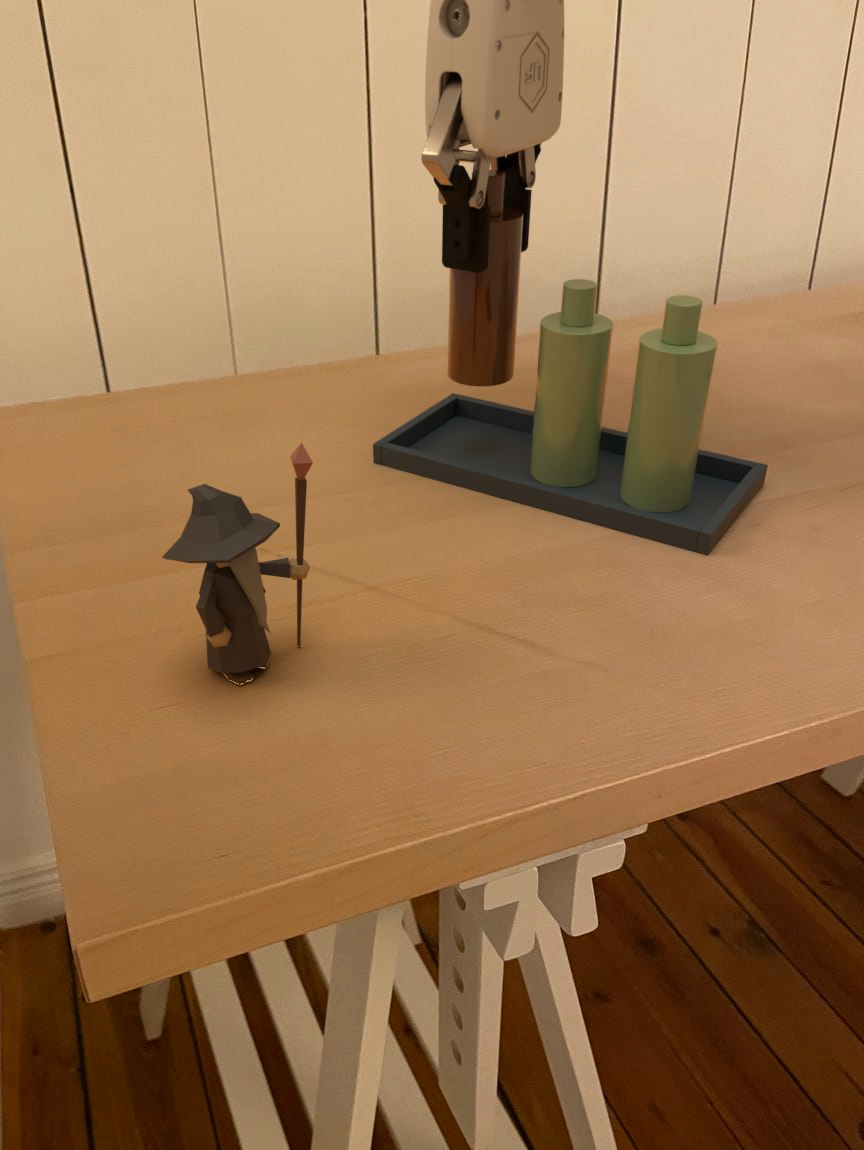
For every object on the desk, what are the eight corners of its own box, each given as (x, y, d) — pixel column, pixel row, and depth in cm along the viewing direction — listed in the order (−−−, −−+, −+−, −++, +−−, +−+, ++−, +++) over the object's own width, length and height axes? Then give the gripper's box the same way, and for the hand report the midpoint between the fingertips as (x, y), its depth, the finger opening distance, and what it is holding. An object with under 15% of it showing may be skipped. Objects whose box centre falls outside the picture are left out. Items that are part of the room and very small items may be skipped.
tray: (762, 491, 72) (768, 464, 70) (706, 563, 64) (711, 534, 63) (452, 416, 84) (452, 392, 82) (373, 469, 76) (372, 443, 75)
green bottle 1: (607, 468, 74) (629, 279, 66) (579, 493, 71) (599, 298, 63) (548, 453, 76) (562, 269, 68) (518, 477, 73) (530, 287, 65)
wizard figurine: (248, 714, 53) (222, 509, 46) (166, 681, 55) (130, 482, 48) (335, 634, 58) (324, 441, 51) (258, 608, 61) (237, 420, 54)
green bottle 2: (700, 491, 71) (735, 296, 63) (675, 519, 67) (709, 317, 60) (635, 475, 73) (661, 284, 65) (608, 501, 70) (632, 304, 62)
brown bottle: (525, 370, 74) (538, 169, 66) (493, 391, 70) (503, 183, 63) (468, 358, 76) (474, 163, 68) (435, 378, 73) (437, 175, 65)
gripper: (482, -67, 50) (470, 300, 61) (619, -73, 62) (589, 238, 72) (359, -65, 54) (368, 282, 64) (510, -71, 65) (497, 225, 76)
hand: (485, 256), depth 68 cm, fingers closed on brown bottle, 4 cm apart
